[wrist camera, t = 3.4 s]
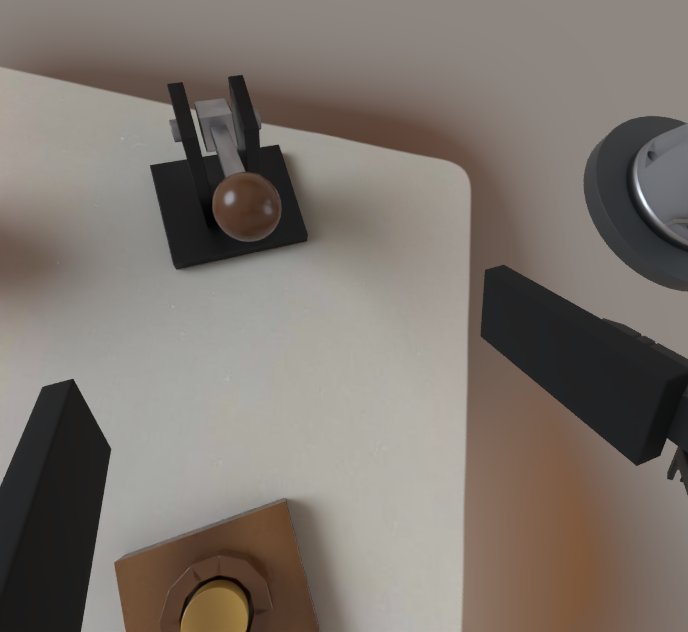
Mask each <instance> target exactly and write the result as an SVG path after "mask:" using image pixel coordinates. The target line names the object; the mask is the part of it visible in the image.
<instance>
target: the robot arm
mask: <svg viewBox="0 0 688 632" xmlns="http://www.w3.org/2000/svg"><path fill="white" fill-rule="evenodd" d="M626 183H627V190H628V194H629V197H630V200H631V202H632V204H633V206H634V208H635V210H636V212H637V214H638V215H639V217H640V218H641V219H642V221H643V222H644V223H645V224H646V225H647V226H648V228H649V229H650V230H651V231H652V232H654V233H655V234H656V235H657V236H658V237H660V238H661V239H662V240H664V241H665V242H667V243H669V244H670V245H672V246H674V247H676V248H678V249H681V250H684V251H687V252H688V123H687V124H685V125H682V126H680V127H677V128H675V129H673V130H670V131H668V132H665V133H663V134H661V135H659V136H657V137H655V138H653V139H651V140H650V141H649V142H648V143H646V144H645V145H644V146H643V147H641V148H640V149H639V150H638V151H637V152H636V153H635V154H634V155H633V156H632V158H631V160H630V162H629V164H628V168H627V173H626ZM481 337H483V339H485V340H486V341H487V342H488V343H490V344H491V345H492V346H493V347H494V348H495V349H497V350H498V351H499V352H500V353H501V354H503V355H504V356H505V357H506V358H508V359H509V360H510V361H511V362H512V363H513V364H515V365H516V366H517V367H518V368H520V369H521V370H522V371H523V372H524V373H526V374H527V375H528V376H529V377H530V378H532V379H533V380H534V381H535V382H537V383H538V384H539V385H540V386H541V387H542V388H544V389H545V390H546V391H547V392H548V393H550V394H551V395H552V396H553V397H554V398H556V399H557V400H558V401H559V402H560V403H562V404H563V405H564V406H565V407H566V408H568V409H569V410H570V411H571V412H572V413H574V414H575V415H576V416H577V417H578V418H580V419H581V420H582V421H583V422H584V423H586V424H587V425H588V426H589V427H590V428H592V429H593V430H594V431H595V432H597V433H598V434H599V435H600V436H601V437H603V438H604V439H605V440H606V441H607V442H609V443H610V444H611V445H612V446H613V447H615V448H616V449H617V450H618V451H619V452H621V453H622V454H623V455H624V456H626V457H627V458H628V459H629V460H630V461H631V462H633V463H634V464H635V465H636V466H638V465H640V464H642V463H645V462H647V461H649V460H651V459H654V458H656V457H658V456H660V455H661V452H662V449H663V447H664V444H665V442H666V439H667V438H668V439H669V440H671V441H672V442H673V443H675V444H676V445H678V448H677V450H676V453H675V455H674V458H673V460H672V463H671V465H670V467H669V470H668V473H667V474H668V475H667V479H670V480H673V478H674V476H675V473H676V471H677V470H678V469H679V470H680V473H681V476H682V477H681V479H680V482H684V485H685V488H686V491H687V495H688V359H686V358H685V357H683V356H681V355H679V354H677V353H676V352H674V351H672V350H670V349H668V348H666V347H664V346H663V345H661V344H659V343H658V344H656V343H655V341H653V340H652V339H650V338H648V337H646V336H641V334H640V333H639V332H637V331H635V330H633V329H631V328H629V327H627V326H626V325H624V324H620V323H617V322H614V321H610V320H607V319H600V318H598V317H596V316H595V315H593V314H591V313H589V312H587V311H586V310H584V309H582V308H580V307H579V306H577V305H575V304H573V303H571V302H570V301H568V300H566V299H564V298H562V297H561V296H559V295H557V294H555V293H553V292H552V291H550V290H548V289H546V288H545V287H543V286H541V285H539V284H537V283H536V282H534V281H532V280H530V279H528V278H527V277H525V276H523V275H521V274H519V273H518V272H516V271H514V270H512V269H510V268H509V267H507V266H505V265H501V266H498V267H494V268H490V269H486V270H485V279H484V293H483V307H482V323H481ZM110 453H111V448H110V446H109V444H108V442H107V440H106V439H105V437H104V435H103V433H102V431H101V429H100V427H99V426H98V424H97V422H96V420H95V418H94V416H93V414H92V413H91V411H90V409H89V407H88V405H87V403H86V401H85V400H84V398H83V396H82V394H81V392H80V390H79V388H78V387H77V385H76V383H75V381H74V379H70V380H67V381H63V382H59V383H55V384H52V385H48V386H44V387H42V389H41V392H40V394H39V396H38V399H37V401H36V404H35V406H34V408H33V411H32V413H31V415H30V418H29V420H28V422H27V425H26V427H25V430H24V432H23V434H22V437H21V439H20V441H19V444H18V446H17V448H16V451H15V453H14V456H13V458H12V460H11V463H10V465H9V467H8V470H7V472H6V475H5V477H4V479H3V482H2V484H1V486H0V632H81V627H82V621H83V615H84V609H85V603H86V597H87V591H88V585H89V579H90V573H91V567H92V561H93V555H94V549H95V543H96V537H97V531H98V525H99V519H100V513H101V507H102V501H103V495H104V489H105V483H106V477H107V471H108V465H109V459H110Z"/></svg>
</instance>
